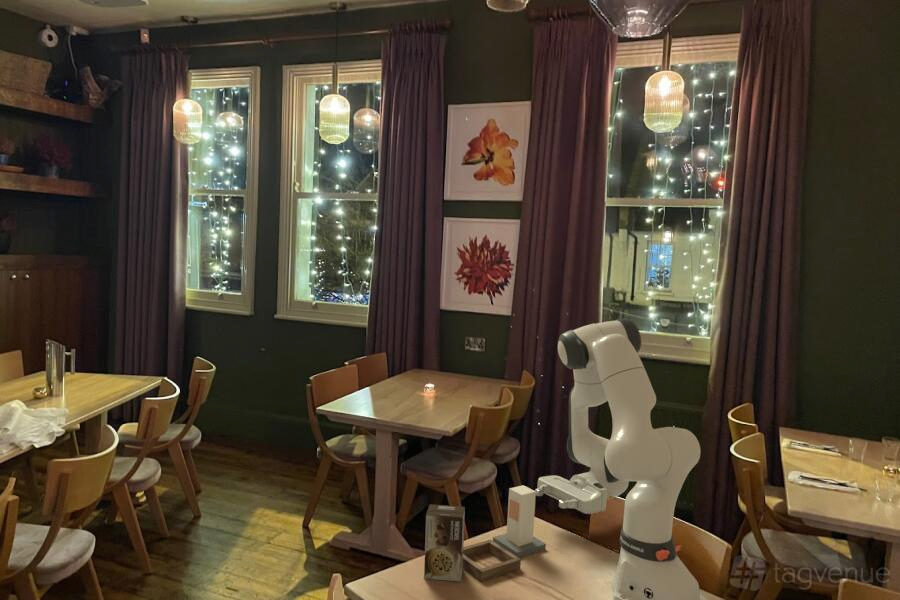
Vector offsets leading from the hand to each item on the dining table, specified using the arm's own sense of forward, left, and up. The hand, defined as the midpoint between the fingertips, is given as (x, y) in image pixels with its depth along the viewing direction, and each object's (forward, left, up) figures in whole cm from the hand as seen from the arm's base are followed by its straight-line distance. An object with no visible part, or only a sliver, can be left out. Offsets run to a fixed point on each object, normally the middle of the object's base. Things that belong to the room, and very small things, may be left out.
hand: (548, 498), depth 181 cm
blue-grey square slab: (0, +10, -11) cm, 15 cm away
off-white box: (0, +10, -10) cm, 14 cm away
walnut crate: (-4, +24, -11) cm, 27 cm away
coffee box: (-2, +36, -11) cm, 38 cm away
